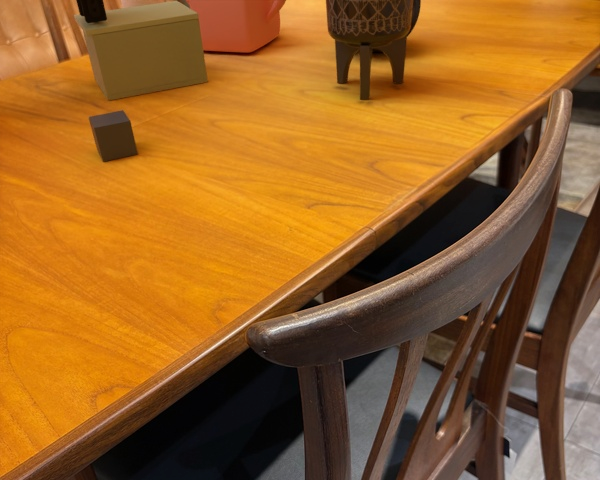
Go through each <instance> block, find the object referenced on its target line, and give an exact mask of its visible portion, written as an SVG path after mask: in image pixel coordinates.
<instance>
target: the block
mask: <svg viewBox="0 0 600 480" xmlns="http://www.w3.org/2000/svg"><path fill="white" fill-rule="evenodd" d="M88 121H89V125H90V129H91V131H92V136H93V139H94V144H95V147H96V150H97V154H99V157H100V158H101V161H102V162H109V161H114V160H118V159H123V158H127V157H131V156H136V155H139V152H138V149H137V148H138V147H137V144H136V140H135V135H134V129H133V125H132V122H131V120H130V118H129V116H128V115H127V114H126V112H125V111H124V110H123V109H121V110H117V111H116V110H115V111H112V112H111V111H110V112H106V113H102V114H96V115H90V116H88Z"/></svg>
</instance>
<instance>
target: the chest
mask: <svg viewBox="0 0 600 480" xmlns="http://www.w3.org/2000/svg"><path fill="white" fill-rule="evenodd" d="M82 33H83V37H84V41H85V46H86V49H87V54H88V57H89V61H90V66H91V69H92V73H93V77H94V81H95V82H96V84H97V85H98V87H99V89H100V90H101V92H102V93H103V95H104V96H105V98H106V100H107V101H113V100H120V99H125V98H130V97H135V96H140V95H146V94H151V93H156V92H162V91H168V90H172V89H178V88H182V87H183V88H184V87H188V86H194V85H199V84H204V83H209V82H208V81H209V80H208V73H207V68H206V61H205V54H204V50H203V45H202V39H201V32H200V25H199V19H192V20H186V21H179V22H173V23H166V24H160V25H154V26H147V27H141V28H134V29H128V30H122V31H115V32H109V33H102V34H96V35H89V36H87V35H86V34H85V33H84V31H83V30H82Z"/></svg>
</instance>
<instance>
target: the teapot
mask: <svg viewBox="0 0 600 480" xmlns="http://www.w3.org/2000/svg"><path fill="white" fill-rule="evenodd" d="M185 1H186V3H187V4H188V6H189V8H190V9H192V10H193V11H195V12H197V13H198V19H199V25H200V32H201V39H202V45H203V51H208V52H209V51H211V52H227V53H228V52H229V53H253V52H254V51H257V50H259V49H260V48H262V47H264V46H265V45H267V44H268V43H270V42H271V41H273V40H275V38H277V37H278V36H279V35H280V32H281V13H280V11H281V9H282V8H283V7H284V5H285V3H286V1H287V0H185Z"/></svg>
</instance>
